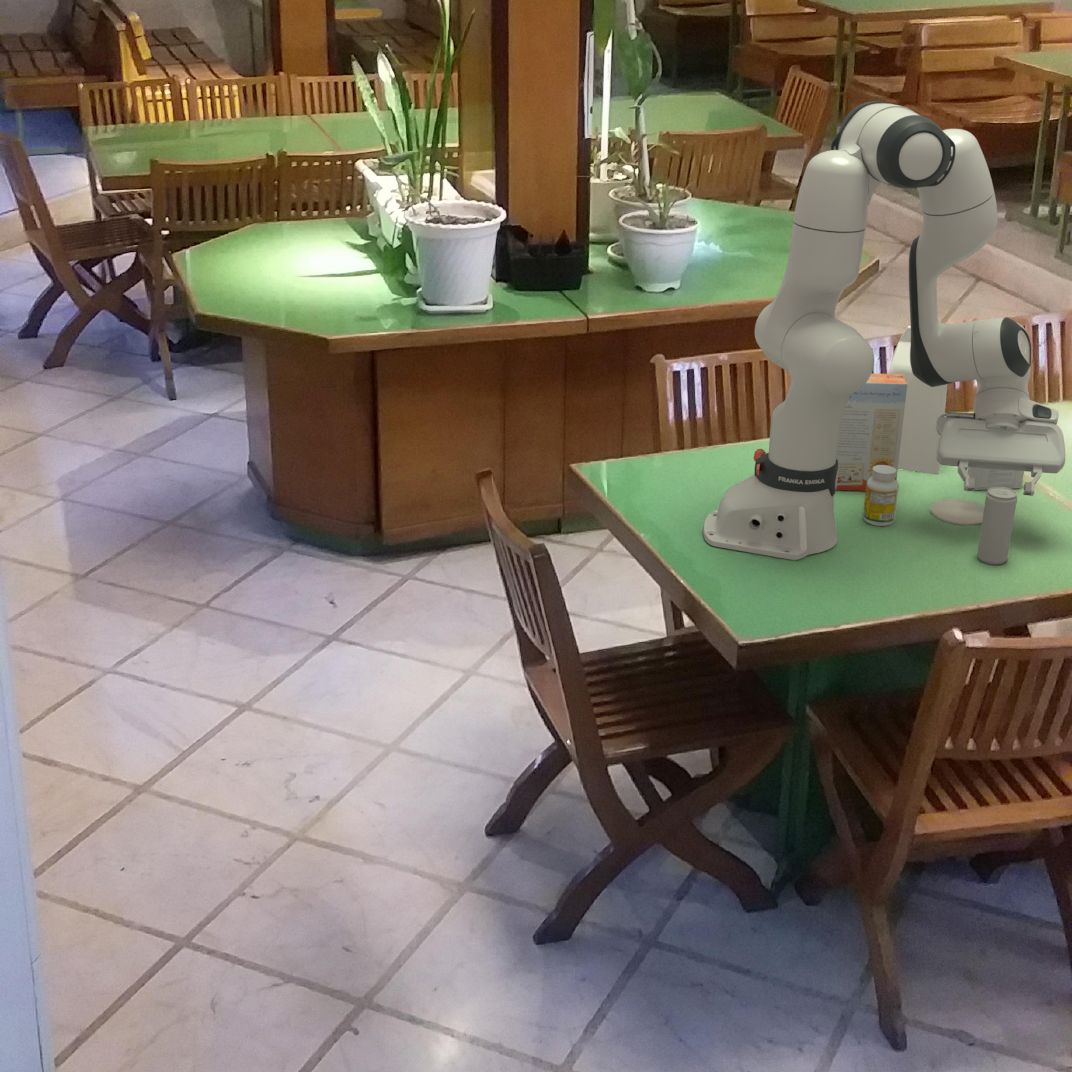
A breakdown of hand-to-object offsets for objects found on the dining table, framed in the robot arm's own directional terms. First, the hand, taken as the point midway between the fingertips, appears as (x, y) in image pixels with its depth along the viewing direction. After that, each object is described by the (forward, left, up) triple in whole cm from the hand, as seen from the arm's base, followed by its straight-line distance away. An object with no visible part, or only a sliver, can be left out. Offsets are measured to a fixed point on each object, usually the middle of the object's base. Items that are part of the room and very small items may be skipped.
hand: (998, 492), depth 238 cm
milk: (-12, +38, -10) cm, 41 cm away
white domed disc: (-4, +14, -10) cm, 18 cm away
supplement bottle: (-18, +8, -10) cm, 22 cm away
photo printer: (+3, +28, -10) cm, 30 cm away
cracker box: (-22, +23, -10) cm, 33 cm away
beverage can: (0, -4, -10) cm, 11 cm away
